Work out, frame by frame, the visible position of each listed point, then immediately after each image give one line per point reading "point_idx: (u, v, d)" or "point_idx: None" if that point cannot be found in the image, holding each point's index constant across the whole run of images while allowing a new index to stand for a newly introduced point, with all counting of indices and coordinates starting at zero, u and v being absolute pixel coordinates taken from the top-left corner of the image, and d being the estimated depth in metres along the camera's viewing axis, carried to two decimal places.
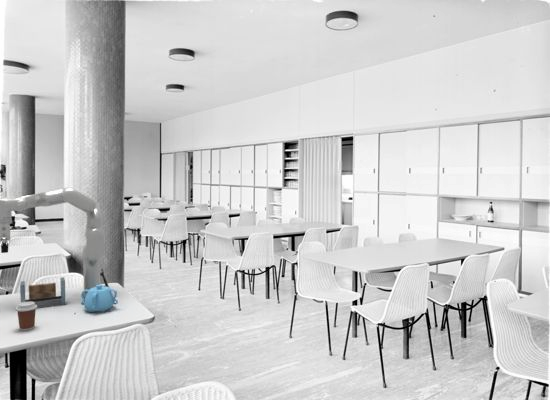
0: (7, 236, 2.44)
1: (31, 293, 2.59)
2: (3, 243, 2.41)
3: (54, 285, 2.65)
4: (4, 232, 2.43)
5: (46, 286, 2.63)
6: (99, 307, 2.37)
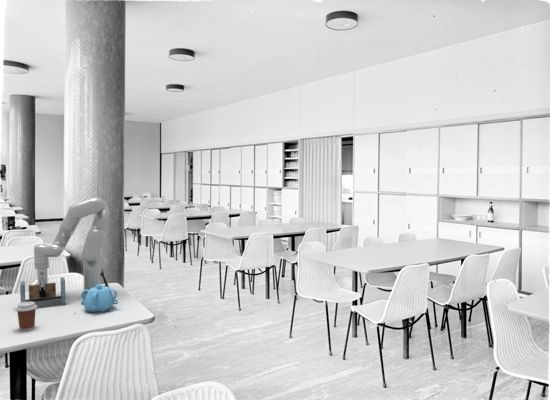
0: (45, 280, 2.59)
1: (31, 292, 2.59)
2: None
3: (54, 285, 2.65)
4: (42, 277, 2.58)
5: (46, 286, 2.63)
6: (99, 307, 2.37)
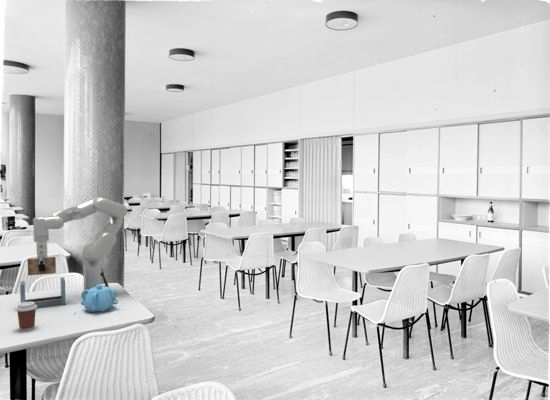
0: (44, 254, 2.50)
1: (30, 266, 2.50)
2: None
3: (54, 259, 2.55)
4: (41, 250, 2.49)
5: (45, 260, 2.53)
6: (99, 307, 2.37)
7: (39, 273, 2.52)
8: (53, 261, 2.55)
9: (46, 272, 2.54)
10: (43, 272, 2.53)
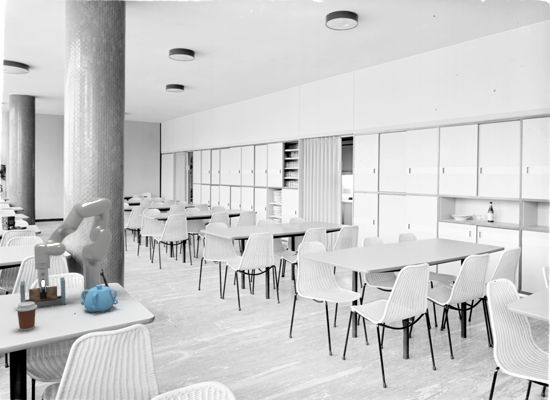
0: (46, 281, 2.46)
1: (31, 297, 2.47)
2: None
3: (55, 289, 2.52)
4: (43, 278, 2.46)
5: (47, 290, 2.50)
6: (99, 307, 2.37)
7: None
8: (55, 291, 2.52)
9: None
10: None
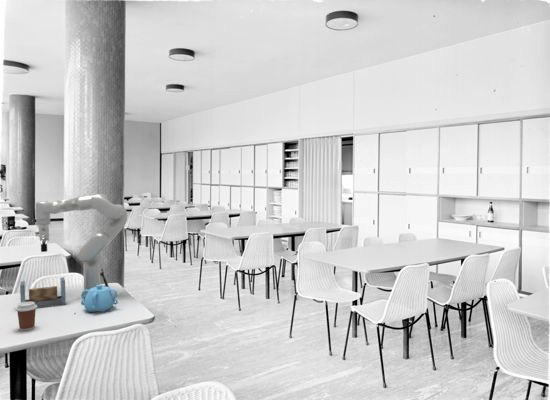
0: (46, 236, 2.63)
1: (31, 297, 2.47)
2: (43, 243, 2.60)
3: (55, 289, 2.52)
4: (44, 233, 2.62)
5: (47, 290, 2.50)
6: (99, 307, 2.37)
7: None
8: (55, 291, 2.52)
9: None
10: None
